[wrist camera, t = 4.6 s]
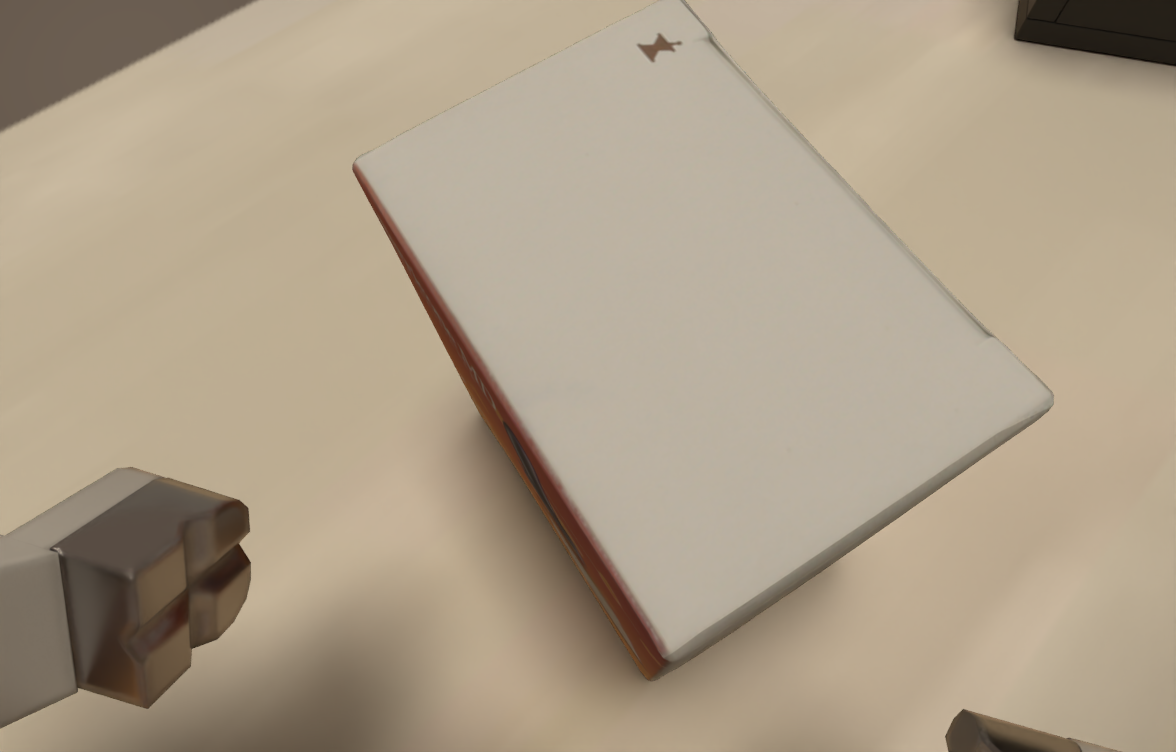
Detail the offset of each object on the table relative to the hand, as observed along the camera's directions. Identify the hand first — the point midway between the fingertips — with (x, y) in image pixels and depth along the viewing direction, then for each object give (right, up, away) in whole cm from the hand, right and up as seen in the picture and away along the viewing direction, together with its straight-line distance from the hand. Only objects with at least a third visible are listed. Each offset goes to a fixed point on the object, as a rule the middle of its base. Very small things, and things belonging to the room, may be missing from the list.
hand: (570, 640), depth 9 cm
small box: (+2, 0, +11) cm, 11 cm away
